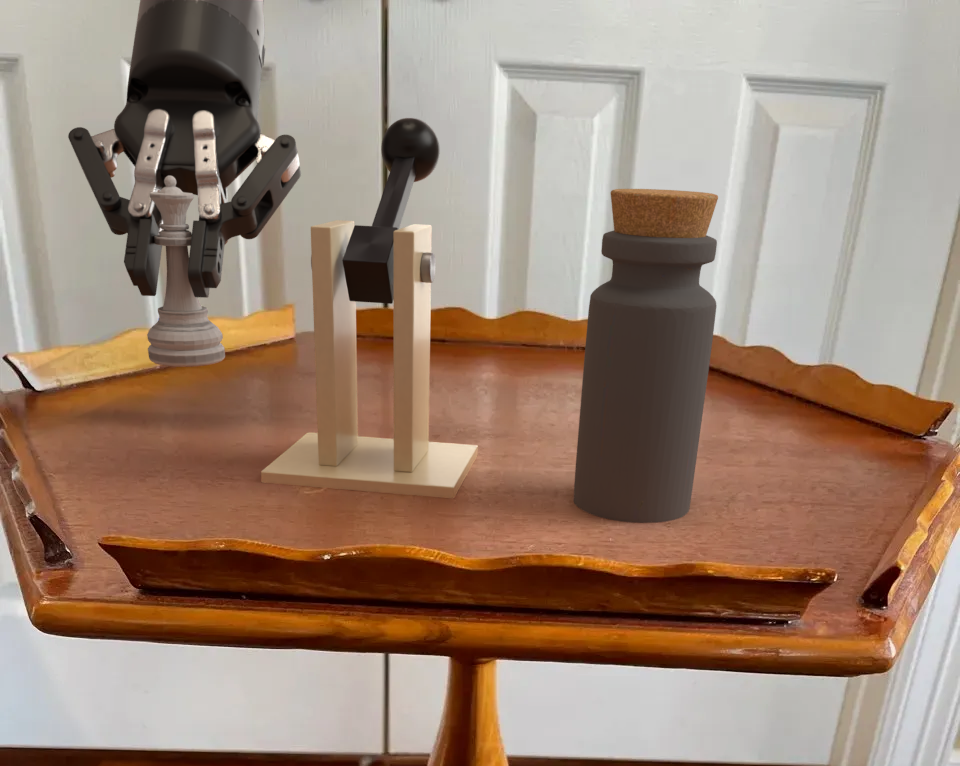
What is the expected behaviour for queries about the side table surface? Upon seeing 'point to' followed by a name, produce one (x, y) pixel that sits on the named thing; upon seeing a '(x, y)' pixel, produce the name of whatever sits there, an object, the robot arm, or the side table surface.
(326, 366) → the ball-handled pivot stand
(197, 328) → the chess piece
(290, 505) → the side table surface
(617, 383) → the bottle
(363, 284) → the lever
